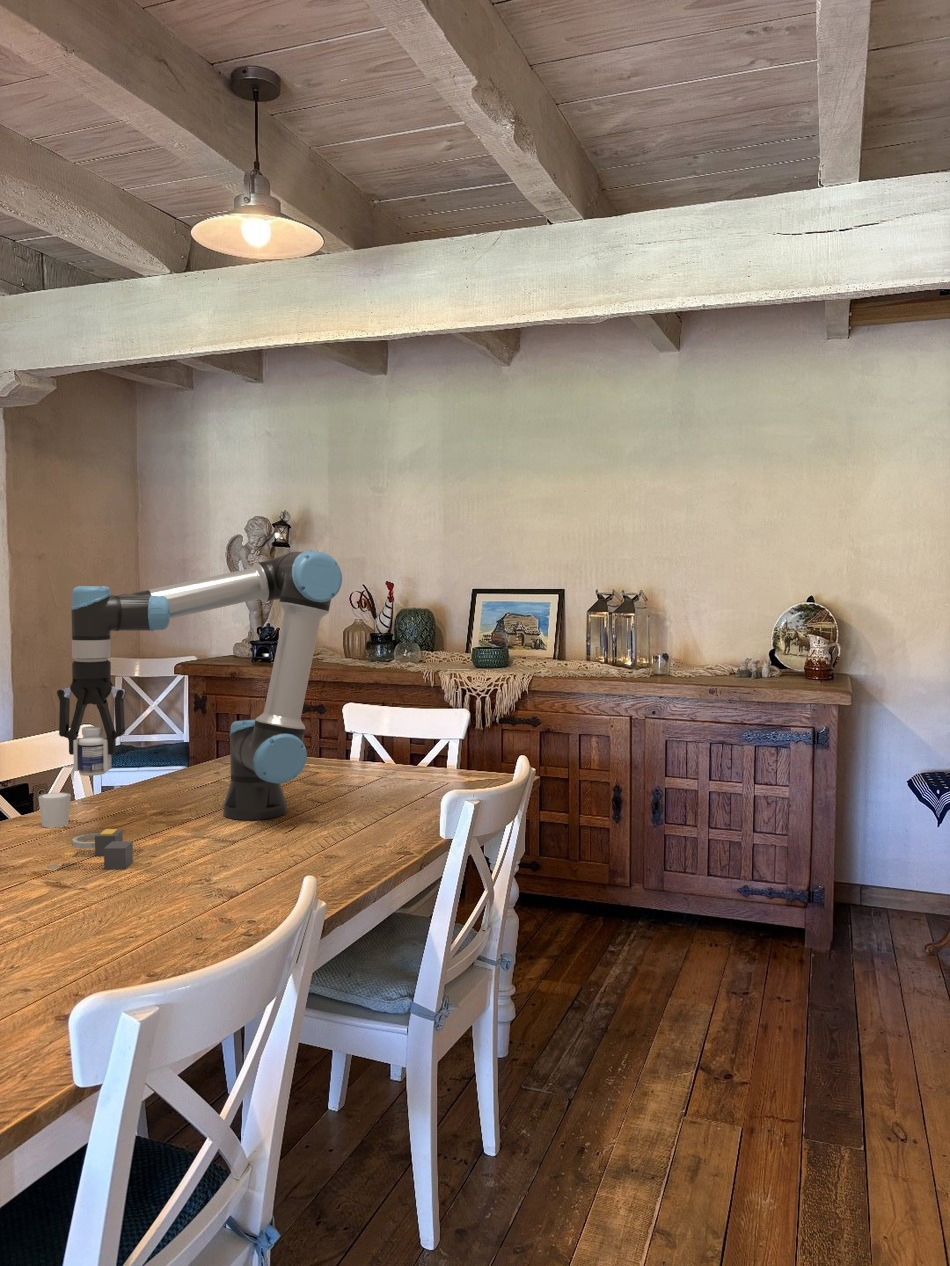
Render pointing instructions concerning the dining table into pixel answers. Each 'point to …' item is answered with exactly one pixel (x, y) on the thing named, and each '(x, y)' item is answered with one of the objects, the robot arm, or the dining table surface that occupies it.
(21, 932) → the dining table surface
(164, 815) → the dining table surface
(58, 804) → the grey cup
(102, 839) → the tagged breaker
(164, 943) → the dining table surface
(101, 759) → the pill bottle
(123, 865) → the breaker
